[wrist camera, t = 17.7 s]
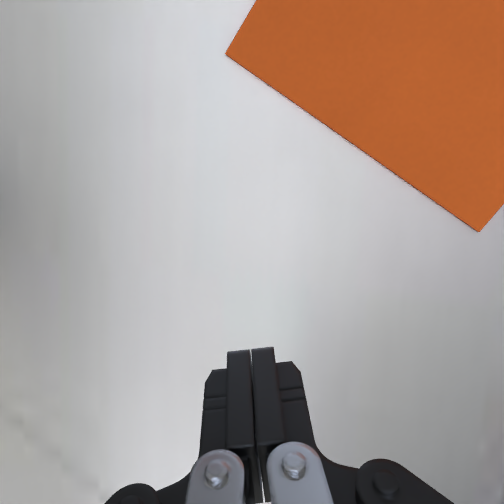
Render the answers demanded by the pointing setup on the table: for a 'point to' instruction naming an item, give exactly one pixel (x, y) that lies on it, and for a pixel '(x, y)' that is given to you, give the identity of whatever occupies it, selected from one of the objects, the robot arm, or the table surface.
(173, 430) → the table surface
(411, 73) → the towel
